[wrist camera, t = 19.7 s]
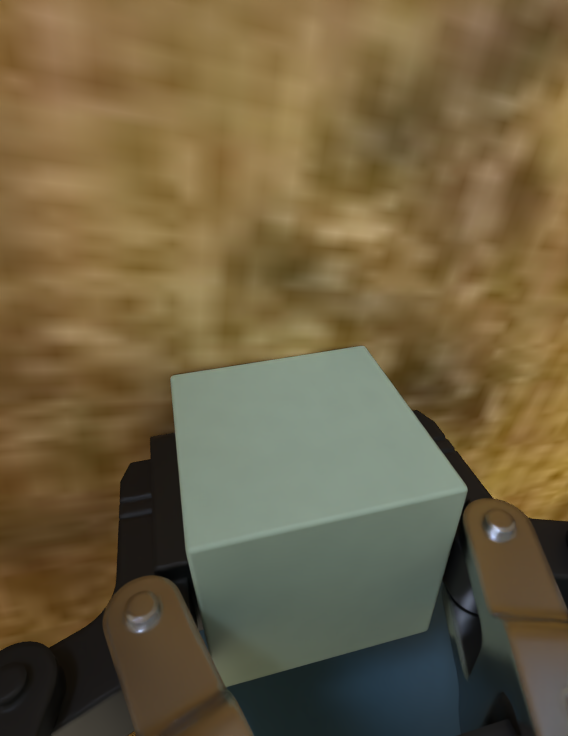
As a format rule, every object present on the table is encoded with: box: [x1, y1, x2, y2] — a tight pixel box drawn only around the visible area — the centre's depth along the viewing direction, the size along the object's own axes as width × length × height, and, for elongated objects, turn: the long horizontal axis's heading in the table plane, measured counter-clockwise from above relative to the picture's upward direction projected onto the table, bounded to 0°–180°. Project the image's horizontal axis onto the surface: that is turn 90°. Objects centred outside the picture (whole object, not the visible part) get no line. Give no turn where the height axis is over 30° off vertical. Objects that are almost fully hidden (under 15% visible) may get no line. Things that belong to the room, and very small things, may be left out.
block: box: [170, 346, 468, 687], centre depth 11 cm, size 5×5×5 cm
